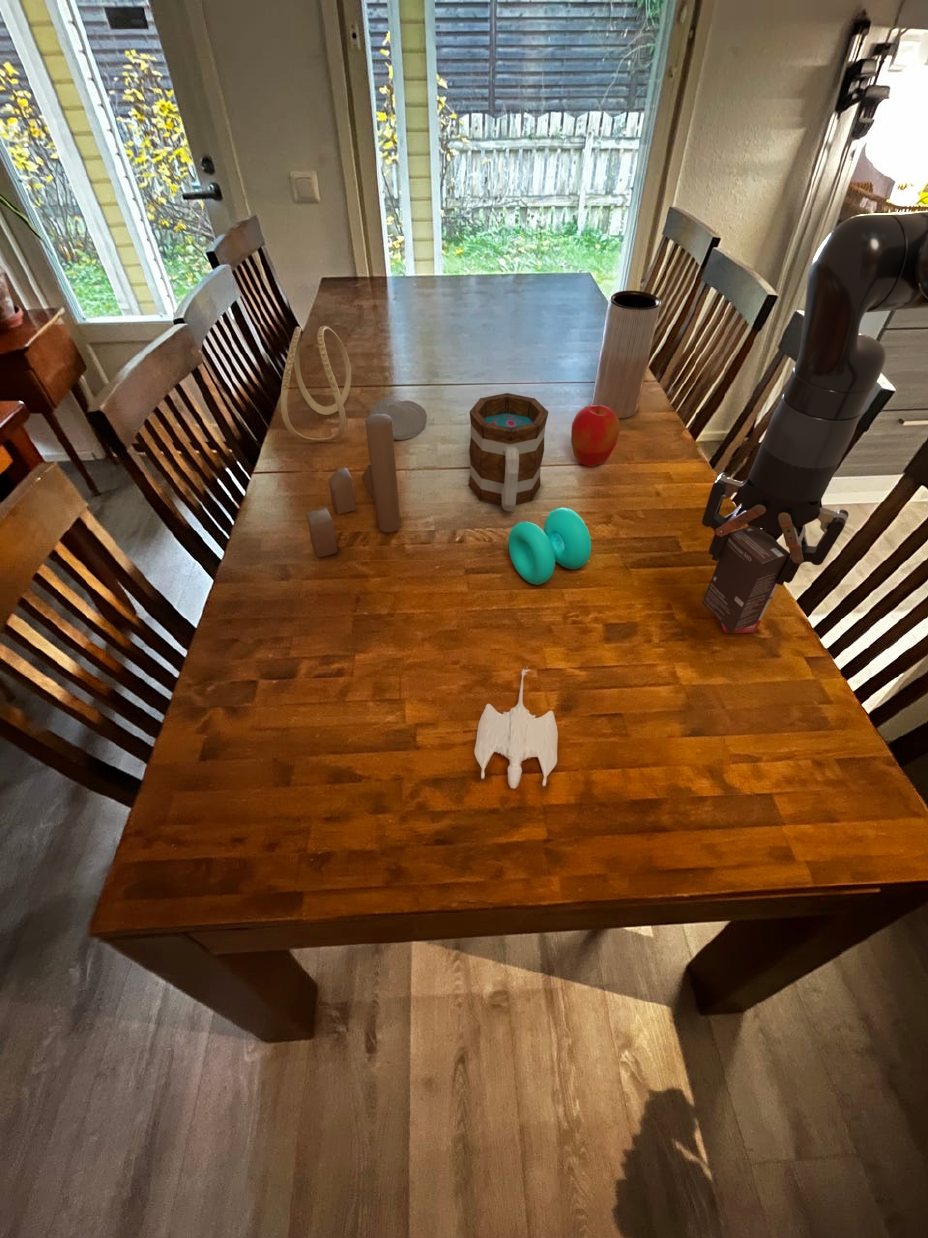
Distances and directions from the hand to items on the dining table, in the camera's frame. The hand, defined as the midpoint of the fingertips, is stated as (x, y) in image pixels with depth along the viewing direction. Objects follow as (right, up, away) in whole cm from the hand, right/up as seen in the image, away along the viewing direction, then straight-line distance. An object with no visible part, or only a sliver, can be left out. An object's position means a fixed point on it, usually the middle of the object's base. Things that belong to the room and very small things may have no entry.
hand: (748, 568), depth 75 cm
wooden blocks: (-54, +13, +37) cm, 67 cm away
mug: (-26, +17, +41) cm, 51 cm away
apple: (-9, +25, +49) cm, 56 cm away
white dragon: (-27, -21, +5) cm, 35 cm away
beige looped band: (-63, +34, +57) cm, 92 cm away
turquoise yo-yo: (-21, +2, +27) cm, 34 cm away
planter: (-1, +41, +64) cm, 76 cm away
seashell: (-48, +34, +57) cm, 82 cm away
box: (0, -6, +6) cm, 8 cm away
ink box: (+7, -5, +20) cm, 22 cm away
